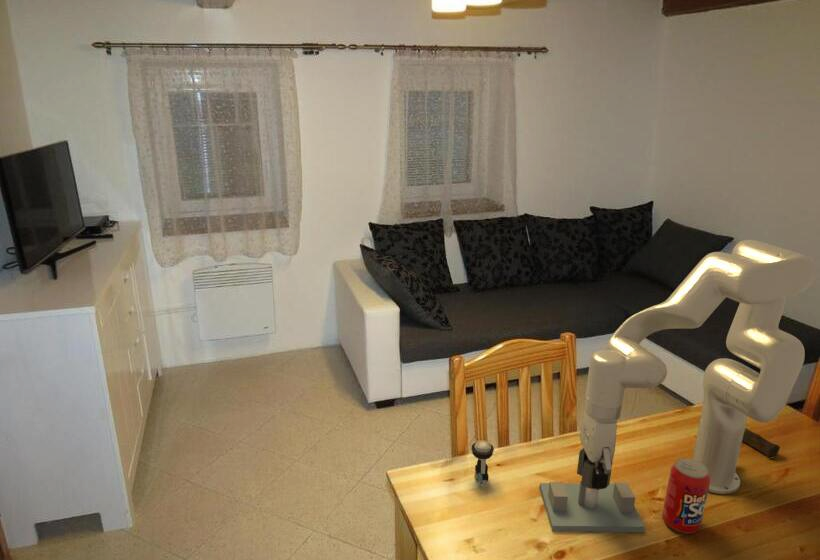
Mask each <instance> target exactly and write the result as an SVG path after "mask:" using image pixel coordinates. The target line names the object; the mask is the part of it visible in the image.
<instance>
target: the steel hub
mask: <svg viewBox="0 0 820 560" xmlns="http://www.w3.org/2000/svg"><path fill="white" fill-rule="evenodd" d="M599 459H603V457H602V456H601V457H600V458H599ZM613 461H614V459H613V460H612V462H611V466H612V467H613ZM603 466H604V464H603V463H601V462H599V468H603ZM593 471H595V462H591V461H590V460H589V459H588V457H587V455H586V452H585V450H584V448H583V447H582V449H580V450H579V454H578V461H577V469H576V474H577V475H579V476H580V477H581V480H580V482H581V484H582V485H583V486H585V487H587V488H590V489H595V490H600V489H605V488H592V486H591V484H592V476H593ZM611 475H612V471H611V472H610V473H609V475H608V481H607V486H608V485H609V484H611V483H610V482H611V477H612V476H611Z"/></svg>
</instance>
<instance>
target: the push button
mask: <svg viewBox="0 0 820 560" xmlns="http://www.w3.org/2000/svg"><path fill="white" fill-rule="evenodd" d="M470 449H471V451H472V455H473V456H474V457H475V458H477V461H476V464H475V467H474V470H475V471H474V480H475V481H476V480H477V481H478V484H479V486H480V485H481V486H482V488H483V489H487V488H488V486H487V485H488V483H487V482H488V481H489V478H490V477H489V473H488V471H489V466H488V465H487V460H488V459H490V458H491V457H492V456H493V454H494V451H495V449H494V446H493V445H492V444H491V443H490V442H489V441H487V440H483V439H481V440H480V439H479V440H476V441H475V442H474V443H473V444H472V445H471V448H470Z"/></svg>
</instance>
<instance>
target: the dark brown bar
mask: <svg viewBox="0 0 820 560" xmlns="http://www.w3.org/2000/svg"><path fill="white" fill-rule="evenodd" d="M742 442H744V443H745V444H747V445H749V446H750V447H753V449H755V450H757V451H758V452H760V453H761V454H764V455H765V456H766V458H767V459H768V458H771V457H774V456H775V457H776V456H777V455H778V453H779V451H780V445H779V444H776V443H773V442H771V441H769V440H767V439H766V438H763V436H761V435H760V434H756V433H755V432H753V431H751V430H750V429H748V428H747V427H745V431H744V435H743V440H742ZM775 457H774V458H775ZM771 459H772V458H771Z"/></svg>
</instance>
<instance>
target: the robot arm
mask: <svg viewBox="0 0 820 560" xmlns="http://www.w3.org/2000/svg"><path fill="white" fill-rule="evenodd" d="M816 271H817V269H816V265H815V263H814V262H813V260H812V259H811V258H809V257H808V256H806V255H805V254H801V253H799V252H796V251H792V250H790V249H786V248H783V247H779V246H777V245H773V244H770V243H767V242H763V241H760V240H755V239H744V240H741V241H739V242H738V243H737V244H736V245H735V246H734V248H733V249H732V252H731V253H727V252H722V251H713V252H710V253H707V254H706V255H705V256H704V257H703V258H702V259H701V260H700V261H699V262H697V264H696V265H695V266H694V268H692V269H691V271H690V272H689V273H688V274H687V276H686V277H685V278H684V279H683V281H682V282H681V283H680V284H678V286H677V287H676V289H675V290H674V291H673V292H672V293H671V294H670V296H669V297H668V298H666V300H664V301H663V302H661V303H659V304H655V305H652V306H650V307H648V308H645V309H643V310H641V311H639V312H637V313H635V314H633V315H631V316H629V317H628V318H626V319H625V321H623V322H622V324H621V325H620V326H619V327H618V328H617V329H616V330H615V332H614V333H613V334H612V335H611V337H610V338H609V339H608V341H607V343H606V345H605V346H604V349H600V350H597V351H595V352H593V354H591V356H590V360H589V367H588V375H587V382H586V383H587V384H586V391H585V398H584V407H583V415H582V420H581V424H580V425H581V426H580V431H579V441H580V444H581V446H582V449H583V448H584V450H585V452H586V455H587V457H588V459H589V460H590V461H591V462H595V471H593V476H592V484H591V486H592V488H606V487H607V481H608V475H609V473H610V472H611V473H612V470H613V469H612V468H613V465H612V466H611V462H612V460H613V461H614V457H615V451H616V443H617V428H618V427H617V426H618V423H617V422H618V420H620V419H621V415H622V409H623V402H624V395H625V389H639V390H641V389H644V390H646V389H652V388H655V387H658V386H659V385H661V384H662V383H663V382H664V381H665V379H666V377H667V376H668V368H667V365H666V363H665V361H664V360H663V359H661V357H659V356H658V355H656V354H655V353H653V352H652V351H651V350H648V349H647V348H645V347H644V346H643V345H641V343H642V342H643V340H644V339H646V338H647V337H648V336H650V335H652V334H653V333H656V332H659V331H663V330H670V329H672V330H674V329H682V330H683V329H688V330H689V329H692V330H693V329H697V328H700V327H701V326H702V325H703V324H704V323H705V322H706V321H707V319H708V318H709V317H710V316H711V314H713V313H714V311H715V310H716V309H717V308H718V307H719V305H720V304H721V303H723V301H724V300H725V299H727V298H728V299H730V300H732V301H735V302H737V303H739V305H738V307H737V310H736V312H735V315H734V318H733V319H732V323H731V325H730V328H729V330H728V332H727V336H726V339H725V340H726V341H725V344H726V349H727V350H728V351H729V352H730V353H731V354H733V355H734V356H736V357H738V358H739V359H742V360H743V361H745V362H747V363H749V364H750V365H752V366H754V367H756V368H758V369H760V371H759V372H758V371H756V370H754V369H753V368H750V367H749V366H747V365H746V364H743V363H742V362H739V361H737V360H734V359H731V358H717V359H715V360H713V361H712V362H710V363H709V364H708V365H707V367H706V368H705V371H704V373H703V378H702V379H703V380H702V381H703V383H702V384H703V385H702V387H703V401H702V409H701V412H700V413H701V414H700V419H699V424H698V429H697V435H696V437H695V438H696V440H695V443H694V447H693V448H694V449H693V454H692V458H691V459H693V460H696V461H699V462H701V463H702V464H704V465H705V466H706V467H707V469H708V474H709V475H710V485H709V490H708V493H714V494H719V495H727V494H728V495H729V494H732V493H735V492H737V491H738V490H739V489H740V486H741V479H740V477H739V475H738V474H737V472H736V470H737V465H738V461H739V456H740V452H741V448H742V444H743V441H742V440H743V435H744V431H745V428H747V427H746V426H747V417H748V418H750V419H752V420H753V421H756V422H759V423H769V422H772V421H774V420H775V419H776V418H777V417H778V416H780V414H781V413H782V411H784V408H785V407H786V406H785V405H786V404H787V403H788V400H789V398H790V396H791V393H792V391H793V389H794V386H795V384H796V382H797V380H798V378H799V375H800V372H801V371H802V367H803V365H804V363H805V355H806V354H805V353H806V352H805V351H806V350H805V347H804V345H803V343H802V341H801V340H800V339H798V338H797V337H796V336H794V335H792V334H791V333H789V332H786V331H783V330H782V329H780V328H779V324H780V320H781V319H782V316H783V312H784V310H785V308H786V307H785V306H786V298H789V297H793V296H796V295H798V294H800V293H802V292H804V291H806V290H807V289H808V288H809V287H811V285H812V283H813V282H814V280H815V278H816ZM601 456H602V457H603V459H599V458H600V457H601ZM599 462H601V463H603V464H604V466H603V468H599Z"/></svg>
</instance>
